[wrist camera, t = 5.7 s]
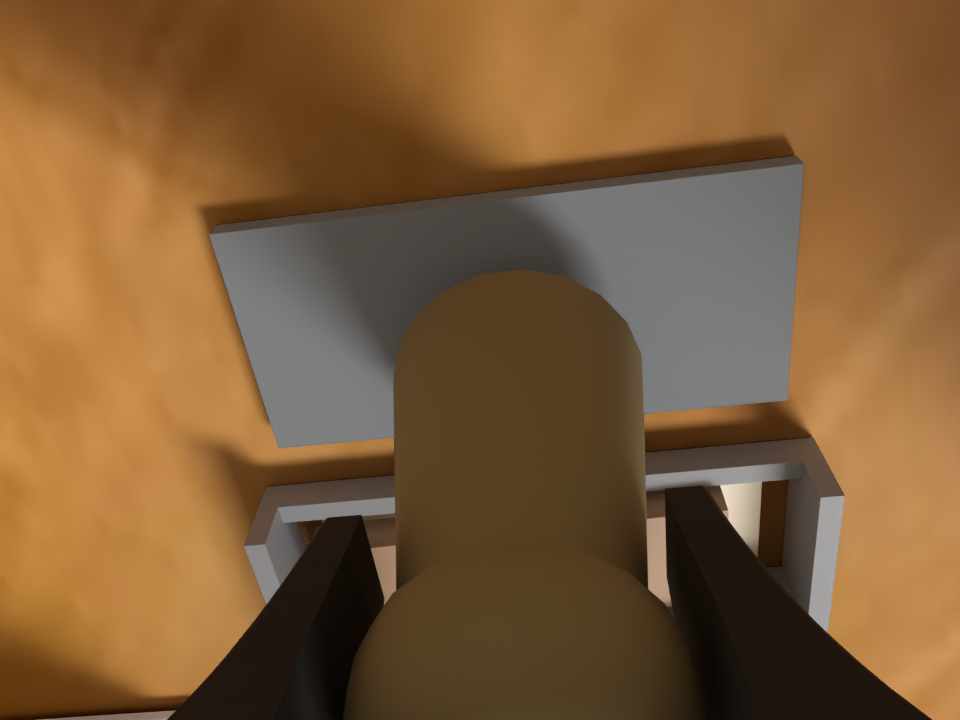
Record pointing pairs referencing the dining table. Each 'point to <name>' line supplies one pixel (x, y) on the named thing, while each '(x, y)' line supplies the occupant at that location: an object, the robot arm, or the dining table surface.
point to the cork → (521, 520)
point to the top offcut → (385, 545)
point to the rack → (795, 460)
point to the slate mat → (531, 246)
